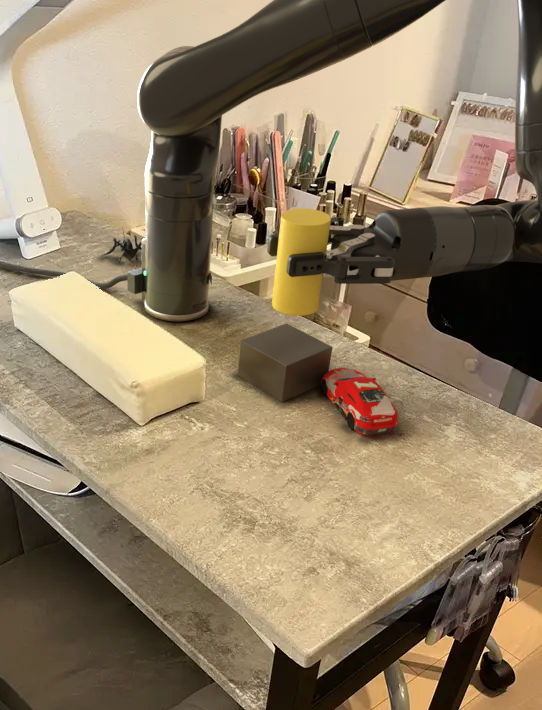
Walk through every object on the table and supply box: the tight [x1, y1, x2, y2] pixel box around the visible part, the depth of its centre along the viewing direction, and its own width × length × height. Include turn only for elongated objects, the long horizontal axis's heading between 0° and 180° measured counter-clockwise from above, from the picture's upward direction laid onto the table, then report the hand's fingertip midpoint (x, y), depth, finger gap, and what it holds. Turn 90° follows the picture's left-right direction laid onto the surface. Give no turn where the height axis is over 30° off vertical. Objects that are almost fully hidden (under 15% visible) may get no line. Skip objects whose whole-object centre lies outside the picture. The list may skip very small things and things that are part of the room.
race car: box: [320, 367, 399, 436], centre depth 91 cm, size 13×5×4 cm, turn 12°
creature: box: [100, 227, 145, 264], centre depth 126 cm, size 8×5×8 cm
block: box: [237, 322, 334, 403], centre depth 96 cm, size 8×8×5 cm
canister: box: [271, 207, 332, 317], centre depth 84 cm, size 5×5×10 cm
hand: (279, 255), depth 82 cm, fingers closed on canister, 5 cm apart
